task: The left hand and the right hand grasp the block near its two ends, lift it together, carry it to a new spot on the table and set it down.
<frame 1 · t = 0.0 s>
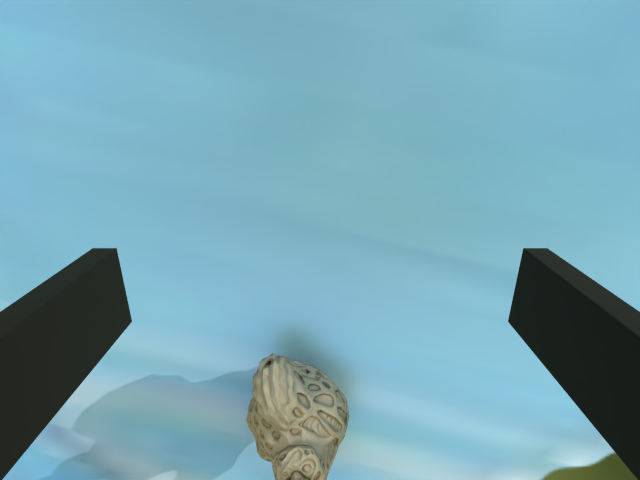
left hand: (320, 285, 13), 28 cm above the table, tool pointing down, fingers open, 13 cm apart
teapot: (302, 387, 49), on the table
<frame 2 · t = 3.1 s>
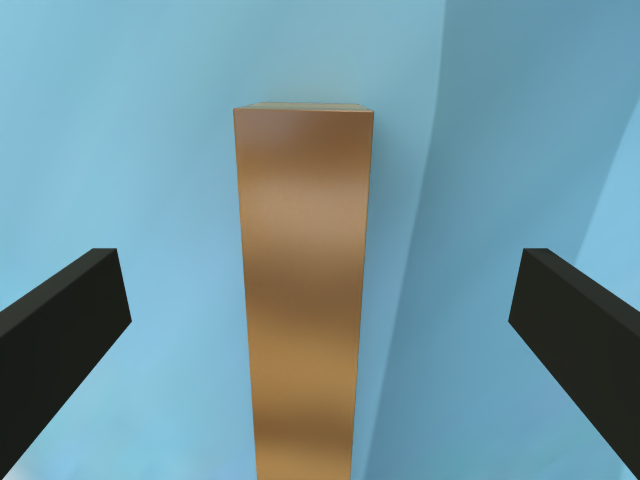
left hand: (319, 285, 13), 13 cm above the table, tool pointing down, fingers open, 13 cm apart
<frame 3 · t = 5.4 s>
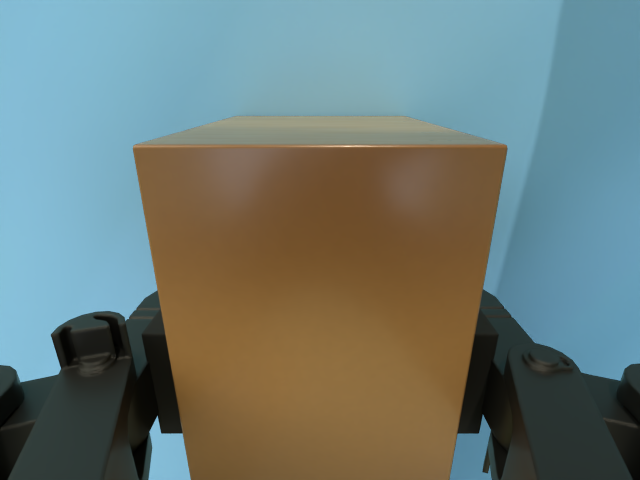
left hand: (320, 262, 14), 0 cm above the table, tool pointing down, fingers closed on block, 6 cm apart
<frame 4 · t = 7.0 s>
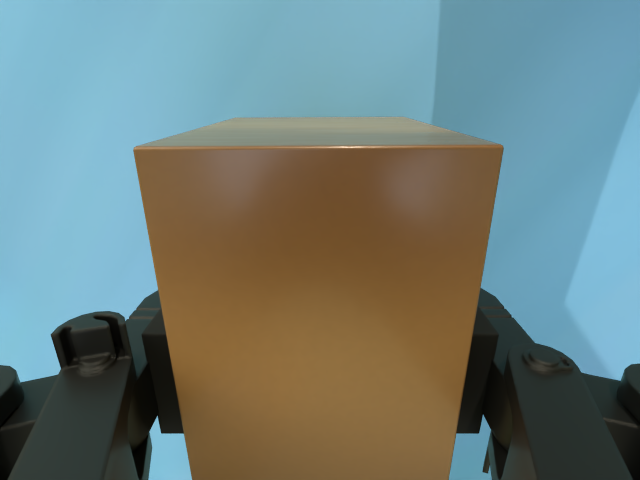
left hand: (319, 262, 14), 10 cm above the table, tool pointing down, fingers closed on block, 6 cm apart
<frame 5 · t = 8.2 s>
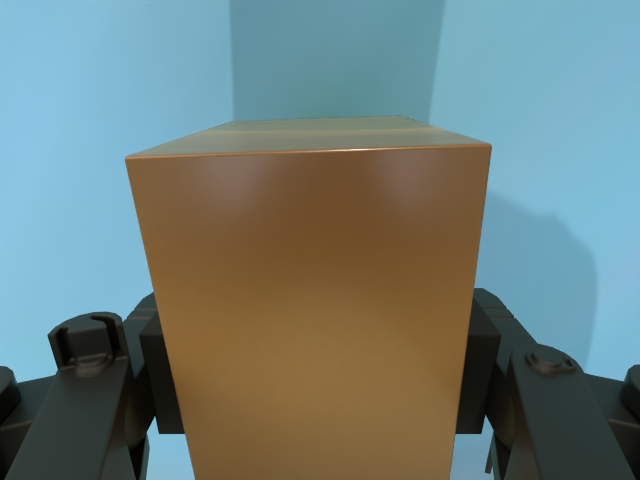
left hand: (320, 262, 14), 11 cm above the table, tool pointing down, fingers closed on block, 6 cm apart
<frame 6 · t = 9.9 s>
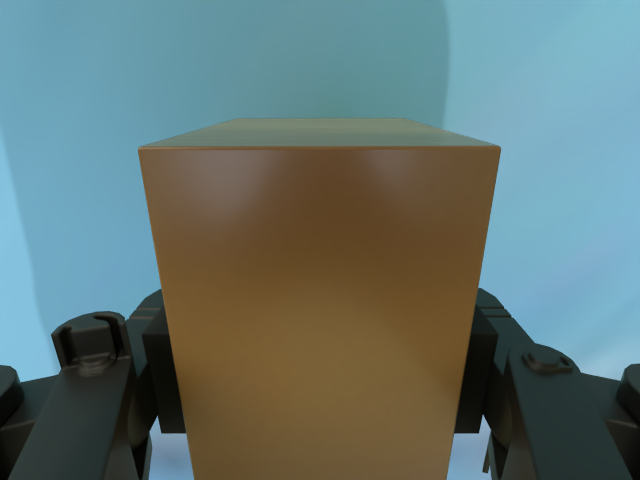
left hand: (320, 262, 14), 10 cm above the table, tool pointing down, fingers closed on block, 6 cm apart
when the left hand's fingers open (2 cm above the table, at t = 11.3 s): block drops 1 cm, on the table.
when the right hand's fingers open (2 cm above the table, at t = 11.3 s): block drops 1 cm, on the table.
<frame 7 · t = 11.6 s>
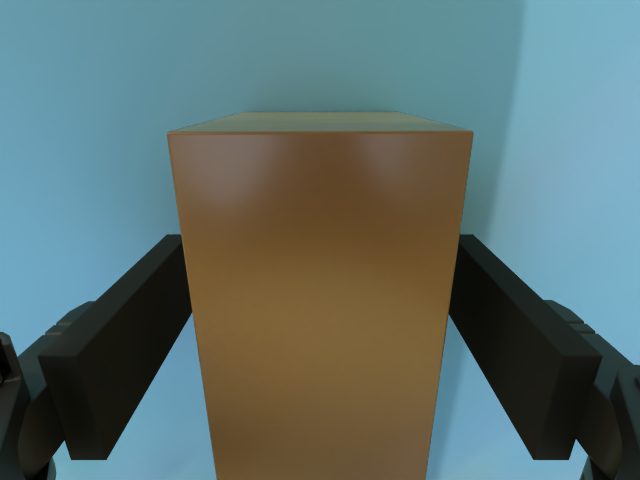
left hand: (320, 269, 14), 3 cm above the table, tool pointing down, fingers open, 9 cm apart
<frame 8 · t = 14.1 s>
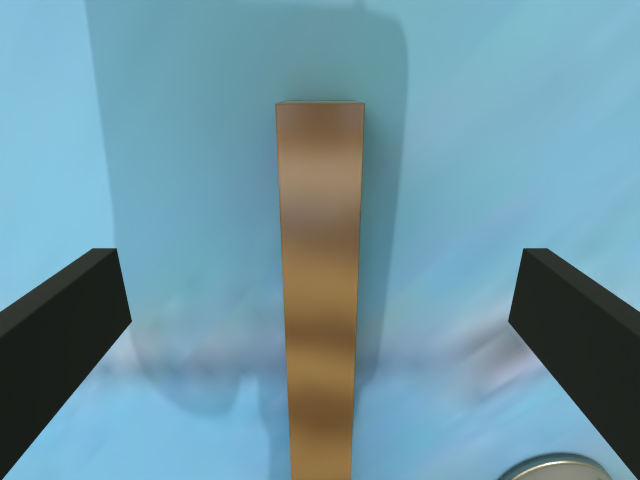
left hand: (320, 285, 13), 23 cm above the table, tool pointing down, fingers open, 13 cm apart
block: (320, 433, 45), on the table
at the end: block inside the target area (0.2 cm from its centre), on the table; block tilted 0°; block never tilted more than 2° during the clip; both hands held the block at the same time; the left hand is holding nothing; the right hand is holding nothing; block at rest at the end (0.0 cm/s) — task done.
